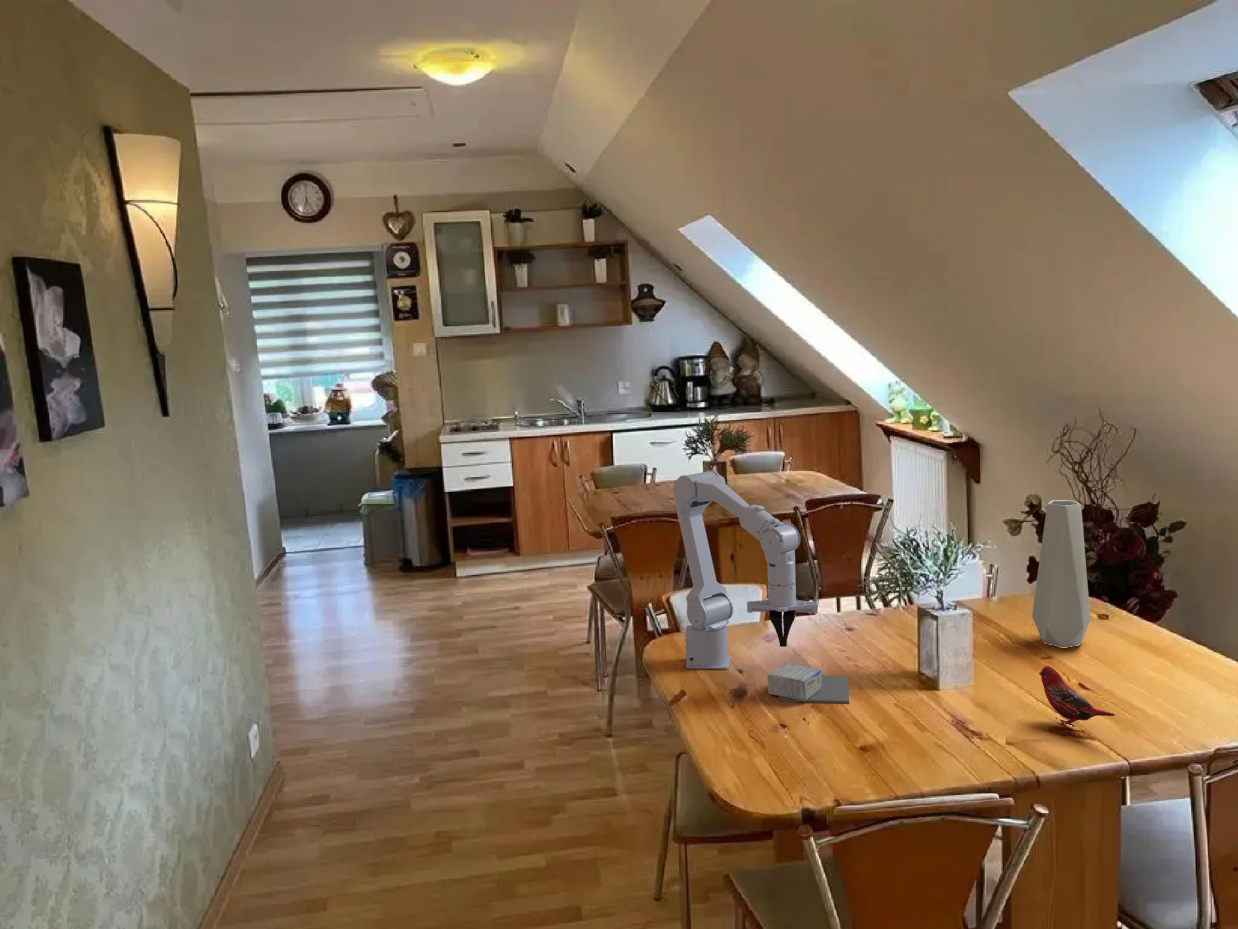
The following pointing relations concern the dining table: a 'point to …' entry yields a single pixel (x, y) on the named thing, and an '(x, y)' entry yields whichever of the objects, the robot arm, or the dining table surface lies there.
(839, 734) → the dining table surface
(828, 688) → the mat
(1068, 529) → the vase
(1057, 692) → the decorative bird figurine
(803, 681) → the medicine box
